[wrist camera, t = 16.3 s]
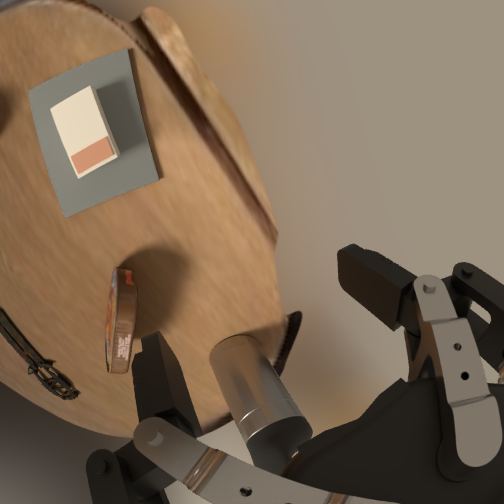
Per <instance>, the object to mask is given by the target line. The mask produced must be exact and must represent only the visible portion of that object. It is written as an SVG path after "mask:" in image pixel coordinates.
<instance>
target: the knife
mask: <svg viewBox="0 0 504 504" xmlns="http://www.w3.org/2000/svg"><path fill="white" fill-rule="evenodd" d="M0 322H1V323H2V324H1V323H0V333H1V335H2V336H3V337H4V338H5V339H6V341H7V342H8V343H9V344H10V345H11V346H12V347H13V349H14V350H15V351H16V352H17V353H18V354H19V355H20V356H21V357H22V358H23V359H24V360H25V361H26V363H27V364H28V365H29V368H28V374H29V375H30V374H33V373H34V374H35V375H36V377H37V378H38V380H39V381H40V382H41V383H42V385H44V387H46V389H48V390H49V391H50V392H52V393H53V394H54V395H56V396H58V397H61V398H62V399H63V400H66V399H69V400H71V399H75V398H76V397H78V392H77V391H73V392H72V391H71V389H70V388H71V384H70V383H69V382H68V381H67V380H66V379H65V378H64V377H63V376H62V375H60V374H58V377H57V376H56V375H55V374H54V373H53V372H51V371H49V368H50V367H52V365H53V364H52V363H53V362H52V361H51V362H47V361H46V360H45V359H44V360H42V359H41V358H40V357H39V356H38V355H37V354H36V353H35V352H34V351H33V350H32V348H31V347H30V346H29V345H28V344H27V343H26V342H25V341H24V339H23V338H22V337H21V336H20V335H19V333H18V332H17V331H16V330H15V329H14V327H13V326H12V325H11V324H10V322H9V321H8V320H7V318H6V317H5V316H4V314H3V313H2V312H1V311H0ZM4 327H5V328H6V329H7V331H8V332H9V333H10V334H11V336H12V337H13V338H14V339H15V340H16V341H17V343H18V344H19V345H20V346H21V347H22V348H23V349H24V350H25V351H24V350H23V349H22V348H21V347H20V346H19V345H18V344H17V343H16V341H15V340H14V339H13V338H12V337H11V336H10V334H9V333H8V332H7V331H6V329H5V328H4ZM28 355H29V356H30V357H31V358H32V359H33V360H34V361H35V362H36V363H37V364H36V363H35V362H34V361H33V360H32V359H31V358H30V357H29V356H28ZM38 366H39V367H40V368H42V367H43V368H44V369H45V370H46V371H47V372H48V373H49V374H50V375H51V376H52V378H49V379H48V380H49V381H47V382H45V381H44V380H43V379H42V378H41V377H40V376H39V375H38V374H37V373H38V371H37V369H38ZM50 382H54V383H53V384H51V385H49V384H48V383H50ZM56 383H59V384H61V387H58V388H55V389H53V388H52V386H53V385H55V384H56ZM62 388H65V389H66V390H68V391H69V393H67V391H65V394H63V395H60V394H59V393H57V392H56V391H55V390H59V389H62Z"/></svg>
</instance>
